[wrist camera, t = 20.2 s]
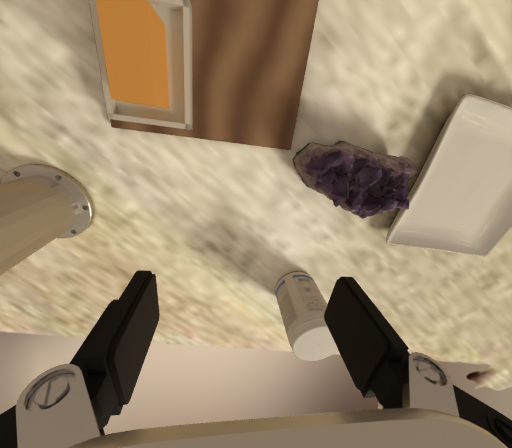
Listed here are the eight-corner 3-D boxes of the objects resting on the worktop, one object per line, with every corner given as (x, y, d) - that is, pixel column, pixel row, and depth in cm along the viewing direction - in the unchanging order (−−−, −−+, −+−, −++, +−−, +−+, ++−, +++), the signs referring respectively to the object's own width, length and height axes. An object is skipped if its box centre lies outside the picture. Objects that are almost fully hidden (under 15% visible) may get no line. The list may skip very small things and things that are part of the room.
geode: (280, 194, 39) (295, 207, 29) (299, 129, 36) (323, 120, 26) (374, 217, 42) (414, 235, 33) (398, 160, 39) (451, 161, 30)
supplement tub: (286, 306, 52) (305, 368, 39) (266, 283, 48) (280, 344, 35) (320, 287, 50) (352, 346, 37) (303, 262, 46) (331, 318, 33)
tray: (115, 119, 30) (107, 118, 28) (95, -14, 24) (85, -25, 22) (192, 129, 31) (190, 129, 30) (192, 7, 25) (189, -1, 24)
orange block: (135, 103, 29) (111, 99, 23) (125, 17, 25) (93, -14, 19) (169, 108, 29) (154, 105, 24) (165, 25, 25) (145, -3, 20)
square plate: (560, 129, 39) (592, 130, 36) (470, 249, 51) (487, 259, 47) (446, 93, 34) (470, 90, 31) (374, 235, 46) (386, 245, 42)
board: (115, 127, 31) (111, 127, 30) (68, -189, 19) (60, -204, 19) (288, 149, 35) (290, 149, 34) (335, -100, 24) (339, -109, 23)
